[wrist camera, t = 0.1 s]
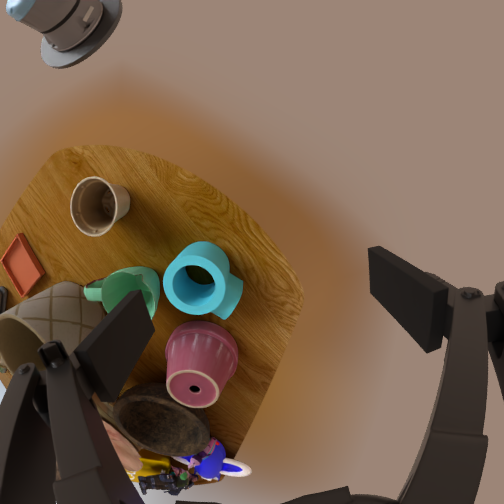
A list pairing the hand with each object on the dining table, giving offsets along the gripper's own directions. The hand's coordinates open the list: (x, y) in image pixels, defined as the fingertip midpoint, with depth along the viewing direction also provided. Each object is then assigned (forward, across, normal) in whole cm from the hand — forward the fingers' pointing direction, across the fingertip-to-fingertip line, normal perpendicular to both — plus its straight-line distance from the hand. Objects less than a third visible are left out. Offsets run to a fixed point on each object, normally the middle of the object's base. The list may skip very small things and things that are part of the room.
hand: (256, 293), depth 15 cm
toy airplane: (+28, -25, -63) cm, 73 cm away
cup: (+34, -9, -8) cm, 36 cm away
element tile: (+30, -46, -64) cm, 85 cm away
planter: (+34, -42, -13) cm, 55 cm away
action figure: (+20, -45, -64) cm, 81 cm away
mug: (+34, -24, -7) cm, 42 cm away
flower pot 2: (+20, -15, -24) cm, 35 cm away
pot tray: (+33, -55, +1) cm, 64 cm away
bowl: (+33, -27, -38) cm, 57 cm away
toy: (+16, -27, -51) cm, 60 cm away
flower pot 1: (+34, -24, +8) cm, 42 cm away
